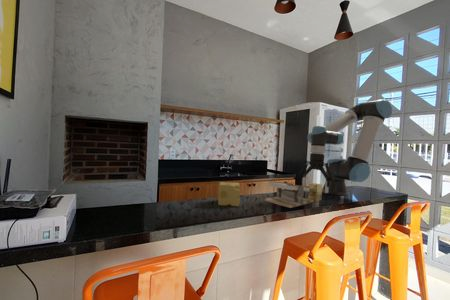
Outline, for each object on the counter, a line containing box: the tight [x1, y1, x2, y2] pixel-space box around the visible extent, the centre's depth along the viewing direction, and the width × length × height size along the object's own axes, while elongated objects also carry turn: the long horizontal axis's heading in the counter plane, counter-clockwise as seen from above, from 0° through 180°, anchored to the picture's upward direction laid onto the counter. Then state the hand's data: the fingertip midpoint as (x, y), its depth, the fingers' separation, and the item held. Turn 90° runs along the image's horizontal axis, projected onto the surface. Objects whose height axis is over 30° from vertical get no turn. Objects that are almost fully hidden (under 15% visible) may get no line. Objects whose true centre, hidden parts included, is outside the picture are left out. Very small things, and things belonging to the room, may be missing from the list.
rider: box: [307, 182, 323, 202], centre depth 133 cm, size 6×5×9 cm
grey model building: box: [268, 180, 310, 197], centre depth 125 cm, size 22×11×6 cm, turn 132°
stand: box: [264, 187, 314, 209], centre depth 125 cm, size 22×16×9 cm
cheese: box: [217, 181, 241, 207], centre depth 115 cm, size 10×11×10 cm
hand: (314, 190), depth 132 cm, fingers open, 13 cm apart
